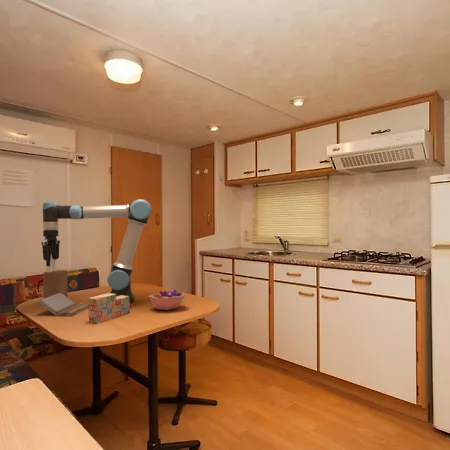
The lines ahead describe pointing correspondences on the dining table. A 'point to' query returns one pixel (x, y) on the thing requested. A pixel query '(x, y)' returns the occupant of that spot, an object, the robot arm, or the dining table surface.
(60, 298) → the plank
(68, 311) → the board
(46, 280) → the wooden block
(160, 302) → the cell model
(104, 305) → the stack of blocks
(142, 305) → the dining table surface
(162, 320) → the dining table surface
